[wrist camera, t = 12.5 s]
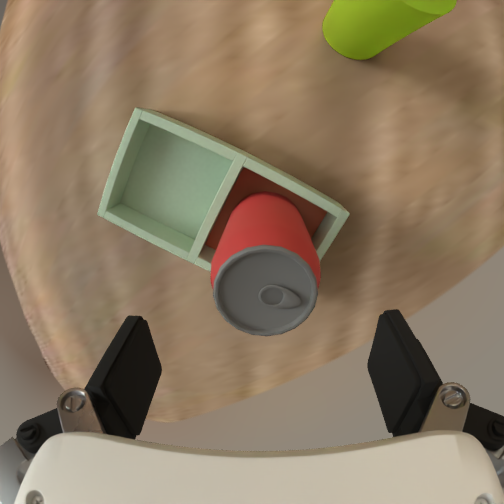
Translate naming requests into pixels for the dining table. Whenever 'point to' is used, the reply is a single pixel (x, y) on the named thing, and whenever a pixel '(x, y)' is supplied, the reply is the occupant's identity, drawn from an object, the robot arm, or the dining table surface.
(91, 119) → the dining table surface
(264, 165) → the divided tray
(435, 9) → the soap dispenser
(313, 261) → the beer can
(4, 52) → the dining table surface
